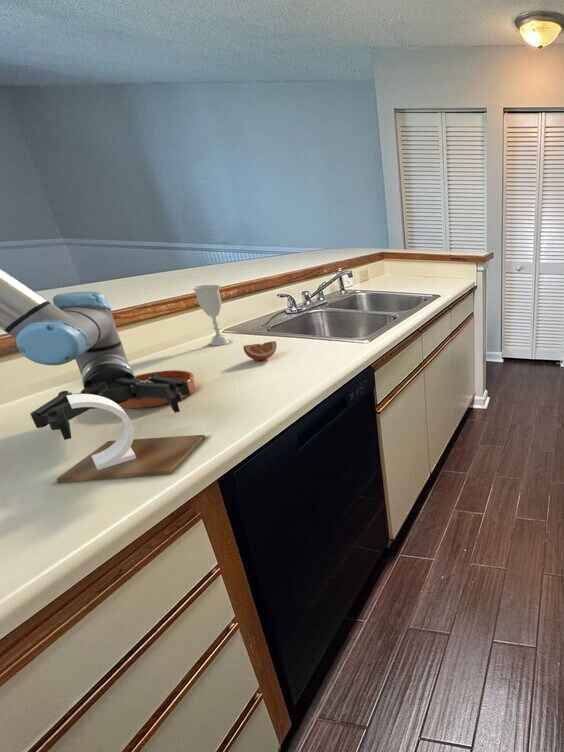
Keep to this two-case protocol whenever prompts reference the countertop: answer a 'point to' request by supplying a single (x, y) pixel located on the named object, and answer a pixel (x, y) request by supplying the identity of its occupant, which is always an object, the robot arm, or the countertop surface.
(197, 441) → the wooden board
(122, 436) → the headphone stand
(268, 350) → the fruit slice
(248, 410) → the countertop surface
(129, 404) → the bowl
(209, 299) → the chalice
